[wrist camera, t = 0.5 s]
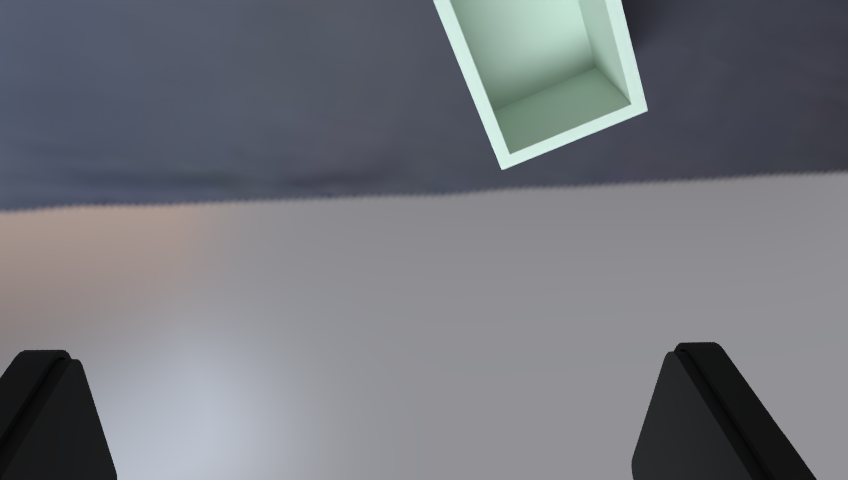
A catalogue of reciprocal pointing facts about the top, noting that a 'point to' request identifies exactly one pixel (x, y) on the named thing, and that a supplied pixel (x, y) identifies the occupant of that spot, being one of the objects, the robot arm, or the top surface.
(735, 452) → the robot arm
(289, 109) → the top surface
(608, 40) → the box
